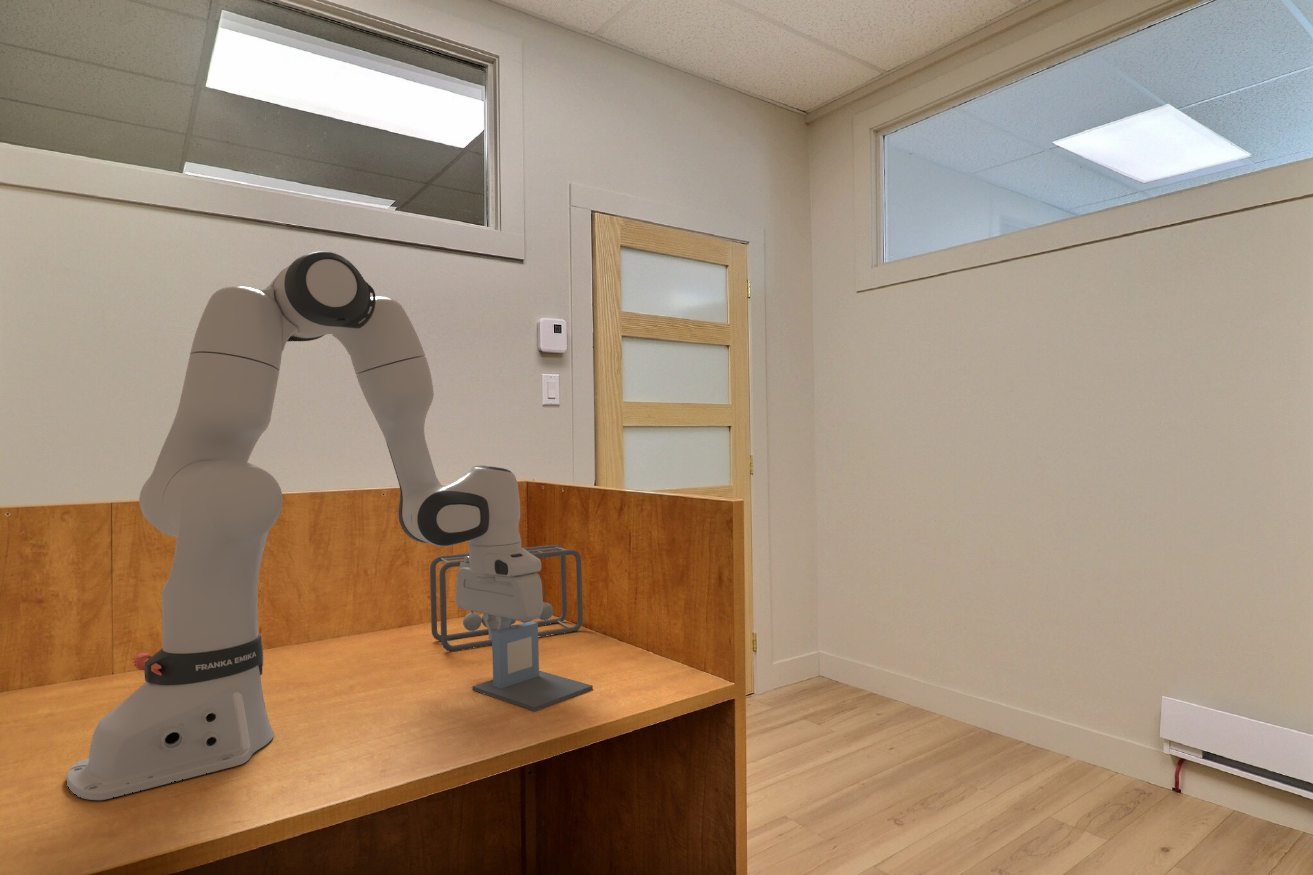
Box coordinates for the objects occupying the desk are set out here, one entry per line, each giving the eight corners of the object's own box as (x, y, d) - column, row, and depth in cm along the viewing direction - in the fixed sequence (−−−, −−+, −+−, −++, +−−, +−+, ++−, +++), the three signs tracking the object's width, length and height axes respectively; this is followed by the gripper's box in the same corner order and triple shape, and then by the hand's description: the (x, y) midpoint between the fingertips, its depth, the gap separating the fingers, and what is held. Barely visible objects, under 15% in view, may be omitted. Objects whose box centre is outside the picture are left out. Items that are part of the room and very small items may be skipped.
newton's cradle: (566, 621, 163) (564, 543, 163) (584, 631, 154) (581, 548, 154) (431, 642, 148) (429, 556, 149) (442, 653, 139) (439, 562, 140)
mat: (534, 711, 107) (534, 707, 107) (472, 689, 117) (472, 686, 117) (592, 689, 116) (592, 685, 116) (530, 671, 126) (529, 667, 126)
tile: (539, 676, 121) (538, 623, 122) (500, 688, 115) (499, 633, 116) (531, 673, 123) (530, 621, 123) (493, 686, 117) (491, 631, 117)
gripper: (445, 557, 127) (447, 635, 127) (517, 567, 114) (520, 654, 113) (475, 552, 132) (477, 627, 132) (548, 561, 118) (550, 645, 118)
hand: (497, 640), depth 122 cm, fingers closed
